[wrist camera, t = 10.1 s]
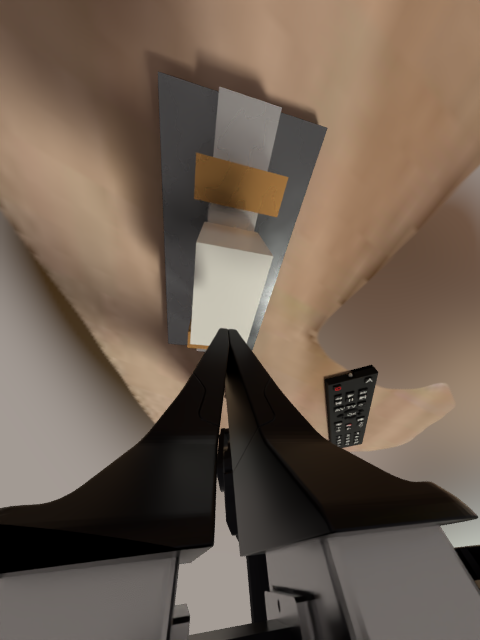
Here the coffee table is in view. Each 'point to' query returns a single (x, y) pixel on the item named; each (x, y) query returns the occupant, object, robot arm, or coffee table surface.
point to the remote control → (350, 405)
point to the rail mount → (227, 182)
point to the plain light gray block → (227, 281)
